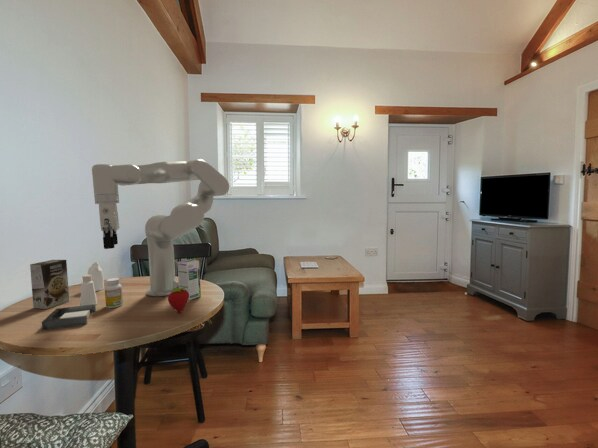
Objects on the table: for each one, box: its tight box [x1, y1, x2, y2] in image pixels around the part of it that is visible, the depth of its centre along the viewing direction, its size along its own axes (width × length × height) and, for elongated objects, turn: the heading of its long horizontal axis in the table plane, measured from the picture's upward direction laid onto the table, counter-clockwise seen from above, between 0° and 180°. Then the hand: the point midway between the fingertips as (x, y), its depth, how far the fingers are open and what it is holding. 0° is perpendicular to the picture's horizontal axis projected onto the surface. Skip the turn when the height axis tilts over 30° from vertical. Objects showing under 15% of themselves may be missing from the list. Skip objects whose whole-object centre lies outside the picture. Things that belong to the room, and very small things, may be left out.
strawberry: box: [167, 288, 189, 314], centre depth 108 cm, size 6×8×10 cm
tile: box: [59, 310, 91, 319], centre depth 103 cm, size 7×7×2 cm
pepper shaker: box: [79, 274, 98, 306], centre depth 117 cm, size 5×5×11 cm
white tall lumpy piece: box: [87, 261, 105, 292], centre depth 137 cm, size 6×12×6 cm
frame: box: [41, 304, 97, 331], centre depth 103 cm, size 11×12×2 cm
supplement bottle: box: [104, 277, 124, 309], centre depth 116 cm, size 5×5×10 cm
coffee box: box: [29, 259, 70, 310], centre depth 118 cm, size 9×6×16 cm
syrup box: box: [177, 258, 202, 301], centre depth 124 cm, size 6×6×14 cm
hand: (111, 246), depth 117 cm, fingers open, 9 cm apart
